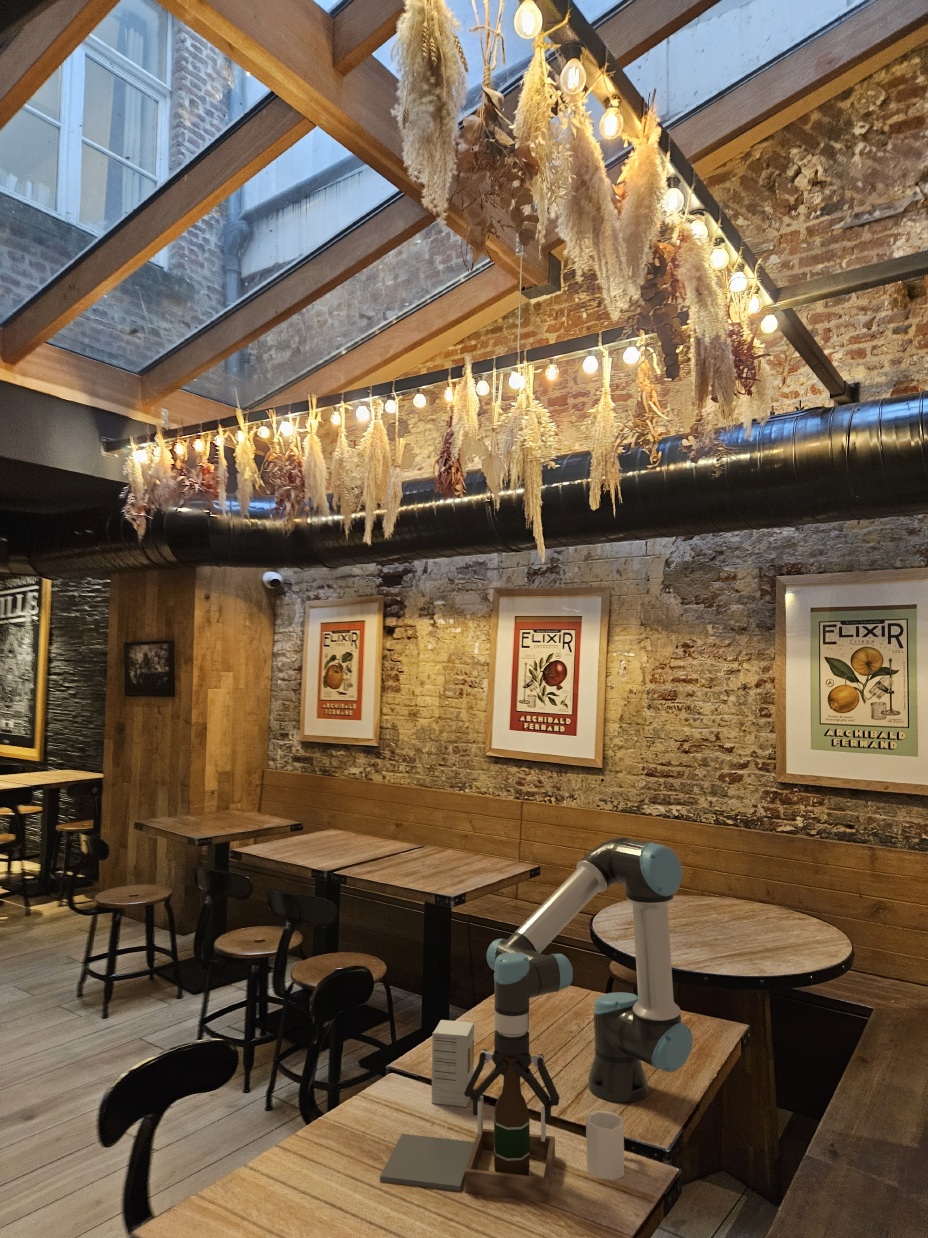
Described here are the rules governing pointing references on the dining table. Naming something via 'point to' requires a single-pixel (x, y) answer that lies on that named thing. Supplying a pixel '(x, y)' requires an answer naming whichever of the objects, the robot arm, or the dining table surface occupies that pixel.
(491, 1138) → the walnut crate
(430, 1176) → the slate pad
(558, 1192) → the dining table surface
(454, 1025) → the supplement box
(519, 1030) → the robot arm
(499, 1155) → the beer bottle
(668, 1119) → the dining table surface
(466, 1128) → the dining table surface
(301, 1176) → the dining table surface
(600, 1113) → the mug
